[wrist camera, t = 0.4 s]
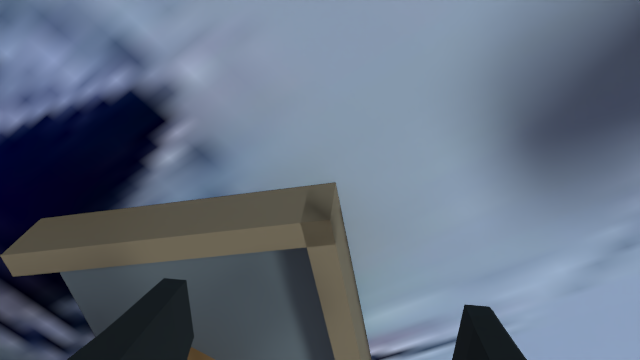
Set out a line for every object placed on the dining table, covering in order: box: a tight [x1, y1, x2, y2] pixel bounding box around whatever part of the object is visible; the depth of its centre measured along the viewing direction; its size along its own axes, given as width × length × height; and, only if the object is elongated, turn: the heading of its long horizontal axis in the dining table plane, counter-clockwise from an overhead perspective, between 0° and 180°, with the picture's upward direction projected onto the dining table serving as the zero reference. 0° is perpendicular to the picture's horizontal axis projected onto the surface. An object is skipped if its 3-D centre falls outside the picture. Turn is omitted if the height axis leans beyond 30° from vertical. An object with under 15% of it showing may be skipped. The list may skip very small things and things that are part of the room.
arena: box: [0, 183, 371, 360], centre depth 25 cm, size 15×15×3 cm
